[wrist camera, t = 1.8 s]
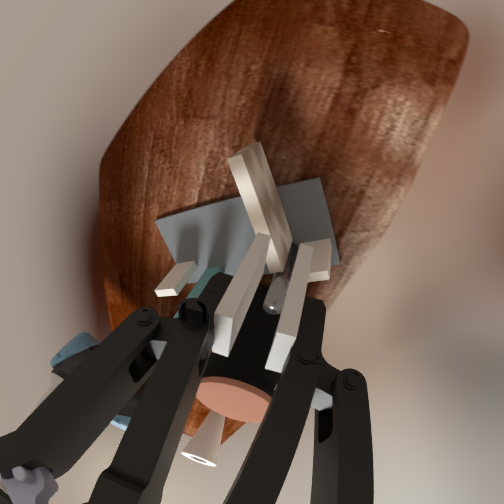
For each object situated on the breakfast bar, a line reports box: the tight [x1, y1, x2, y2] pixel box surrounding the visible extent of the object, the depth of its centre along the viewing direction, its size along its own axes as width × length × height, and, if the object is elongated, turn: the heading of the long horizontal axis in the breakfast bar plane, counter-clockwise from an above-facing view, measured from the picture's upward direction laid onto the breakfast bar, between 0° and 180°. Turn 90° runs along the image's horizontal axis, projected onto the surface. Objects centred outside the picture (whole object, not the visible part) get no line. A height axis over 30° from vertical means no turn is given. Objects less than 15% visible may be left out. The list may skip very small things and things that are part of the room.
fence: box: [154, 238, 332, 297], centre depth 36 cm, size 24×1×7 cm, turn 110°
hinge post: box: [263, 243, 298, 315], centre depth 32 cm, size 2×2×12 cm
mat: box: [155, 177, 340, 284], centre depth 38 cm, size 25×12×1 cm, turn 110°
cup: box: [182, 410, 225, 466], centre depth 68 cm, size 11×11×18 cm
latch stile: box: [173, 266, 223, 318], centre depth 38 cm, size 2×2×12 cm
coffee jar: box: [196, 286, 281, 423], centre depth 37 cm, size 11×11×18 cm
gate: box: [227, 142, 293, 273], centre depth 30 cm, size 13×2×7 cm, turn 20°
